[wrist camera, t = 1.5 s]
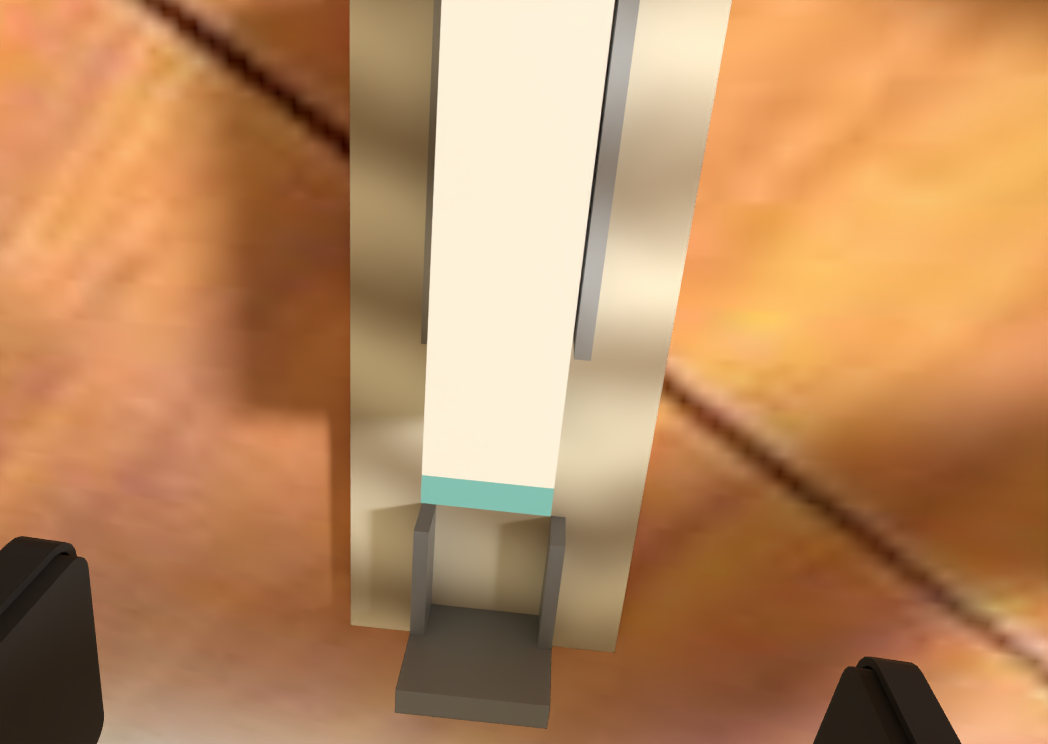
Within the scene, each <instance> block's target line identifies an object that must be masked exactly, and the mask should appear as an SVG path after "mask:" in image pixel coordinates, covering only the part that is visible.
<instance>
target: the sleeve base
mask: <svg viewBox="0 0 1048 744" xmlns="http://www.w3.org/2000/svg"><path fill="white" fill-rule="evenodd" d="M731 2H732V0H615V3H614V11H613V19H612V27H611V35H610V43H609V51H608V59H607V67H606V75H605V83H604V91H603V99H602V107H601V115H600V123H599V132H598V140H597V148H596V156H595V164H594V172H593V180H592V188H591V196H590V204H589V212H588V220H587V228H586V236H585V244H584V252H583V260H582V268H581V276H580V284H579V293H578V301H577V309H576V317H575V325H574V333H573V341H572V349H571V357H570V365H569V373H568V381H567V389H566V397H565V405H564V413H563V421H562V429H561V437H560V446H559V454H558V462H557V470H556V478H555V486H554V494H553V502H552V510H551V516H557V517H566V545H565V554H564V562H563V569H562V576H561V584H560V591H559V598H558V606H557V613H556V620H555V628H554V635H553V642H552V646H555V647H564V648H574V649H583V650H593V651H602V652H612V653H615V647H616V642H617V636H618V630H619V625H620V619H621V614H622V608H623V603H624V597H625V592H626V586H627V580H628V575H629V569H630V564H631V558H632V553H633V547H634V542H635V536H636V530H637V525H638V519H639V514H640V508H641V503H642V497H643V492H644V486H645V480H646V475H647V469H648V464H649V458H650V453H651V447H652V441H653V436H654V430H655V425H656V419H657V414H658V408H659V403H660V397H661V391H662V386H663V380H664V375H665V369H666V364H667V358H668V353H669V347H670V341H671V336H672V330H673V325H674V319H675V314H676V308H677V303H678V297H679V291H680V286H681V280H682V275H683V269H684V264H685V258H686V252H687V247H688V241H689V236H690V230H691V225H692V219H693V214H694V208H695V202H696V197H697V191H698V186H699V180H700V175H701V169H702V164H703V158H704V152H705V147H706V141H707V136H708V130H709V125H710V119H711V114H712V108H713V102H714V97H715V91H716V86H717V80H718V75H719V69H720V63H721V58H722V52H723V47H724V41H725V36H726V30H727V25H728V19H729V13H730V8H731ZM441 3H442V0H350V464H351V625H355V626H365V627H374V628H384V629H393V630H403V631H410V613H411V587H412V560H413V534H414V528H415V525H416V521H417V518H418V515H419V511H420V508H421V505H422V503H421V481H422V457H423V433H424V409H425V385H426V361H427V337H428V313H429V290H430V266H431V242H432V218H433V194H434V170H435V146H436V122H437V98H438V74H439V51H440V27H441ZM551 516H542V515H532V514H523V513H513V512H504V511H494V510H484V509H475V508H465V507H455V506H446V505H436V522H435V542H434V561H433V580H432V600H431V604H437V605H446V606H456V607H466V608H475V609H485V610H494V611H504V612H513V613H523V614H532V615H539V610H540V602H541V594H542V586H543V578H544V570H545V562H546V554H547V546H548V538H549V530H550V522H551Z"/></svg>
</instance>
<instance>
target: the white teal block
mask: <svg viewBox="0 0 1048 744" xmlns="http://www.w3.org/2000/svg"><path fill="white" fill-rule="evenodd" d="M614 3H615V0H442V3H441V27H440V51H439V74H438V98H437V122H436V146H435V170H434V194H433V218H432V242H431V266H430V290H429V313H428V337H427V361H426V385H425V409H424V433H423V457H422V481H421V503H427V504H436V505H446V506H455V507H465V508H475V509H484V510H494V511H504V512H513V513H523V514H532V515H542V516H551V510H552V502H553V494H554V486H555V478H556V470H557V462H558V454H559V446H560V437H561V429H562V421H563V413H564V405H565V397H566V389H567V381H568V373H569V365H570V357H571V349H572V341H573V333H574V325H575V317H576V309H577V301H578V293H579V284H580V276H581V268H582V260H583V252H584V244H585V236H586V228H587V220H588V212H589V204H590V196H591V188H592V180H593V172H594V164H595V156H596V148H597V140H598V132H599V123H600V115H601V107H602V99H603V91H604V83H605V75H606V67H607V59H608V51H609V43H610V35H611V27H612V19H613V11H614Z"/></svg>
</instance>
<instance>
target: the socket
mask: <svg viewBox="0 0 1048 744" xmlns="http://www.w3.org/2000/svg"><path fill="white" fill-rule="evenodd" d="M435 522H436V504H427V503H422V505H421V508H420V511H419V515H418V518H417V521H416V525H415V528H414V534H413V560H412V587H411V613H410V635H409V639H408V643H407V647H406V651H405V655H404V659H403V663H402V667H401V671H400V675H399V679H398V682H397V686H396V693H395V713H403V714H413V715H422V716H432V717H441V718H450V719H460V720H469V721H479V722H488V723H497V724H507V725H516V726H526V727H535V728H545V729H547V725H548V718H549V711H550V690H551V650H552V642H553V635H554V628H555V620H556V613H557V606H558V598H559V591H560V584H561V576H562V569H563V562H564V554H565V545H566V517H557V516H551V522H550V530H549V538H548V546H547V554H546V562H545V570H544V578H543V586H542V594H541V602H540V610H539V615H532V614H523V613H513V612H504V611H494V610H485V609H475V608H466V607H456V606H446V605H437V604H431V600H432V580H433V561H434V542H435Z"/></svg>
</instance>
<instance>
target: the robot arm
mask: <svg viewBox="0 0 1048 744" xmlns="http://www.w3.org/2000/svg"><path fill="white" fill-rule="evenodd" d="M103 722H104V711H103V701H102V692H101V682H100V673H99V663H98V654H97V644H96V635H95V625H94V616H93V606H92V597H91V587H90V578H89V568H88V564H87V561H86V560H85V558H82V557H77V555H76V551H75V548H74V547H73V546H72V544H70V543H66V542H59V541H52V540H45V539H38V538H31V537H24V536H21V537H17V538H14V539H13V540H12V541H10V542H9V543H8V544H7V545H6V546H5V547H4V548H2V549H1V550H0V744H97V742H98V739H99V737H100V734H101V731H102V727H103ZM813 744H961V742H960V740H959V738H958V737H957V735H956V733H955V731H954V729H953V728H952V726H951V724H950V722H949V720H948V718H947V717H946V715H945V713H944V711H943V709H942V708H941V706H940V704H939V702H938V700H937V699H936V697H935V695H934V693H933V691H932V689H931V688H930V686H929V684H928V682H927V680H926V679H925V677H924V675H923V673H922V672H921V670H920V669H919V668H918V666H916V665H915V664H913V663H910V662H903V661H896V660H889V659H882V658H875V657H864V658H862V659H861V660H860V661H859V662H858V664H857V666H856V667H847V668H846V669H845V670H844V672H843V674H842V676H841V678H840V681H839V683H838V685H837V688H836V690H835V692H834V695H833V697H832V700H831V702H830V704H829V707H828V709H827V712H826V714H825V716H824V719H823V721H822V723H821V726H820V728H819V731H818V733H817V735H816V738H815V740H814V743H813Z"/></svg>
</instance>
